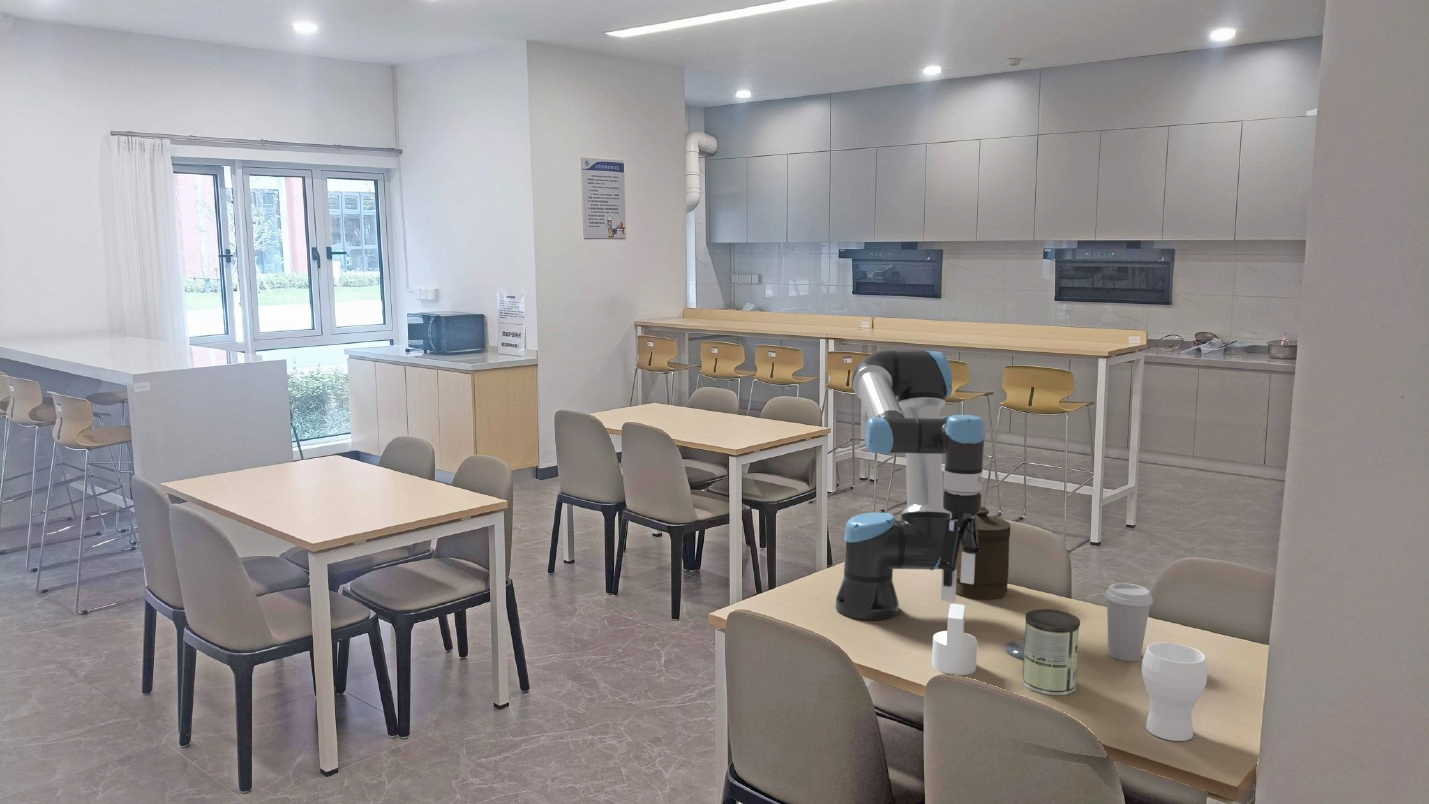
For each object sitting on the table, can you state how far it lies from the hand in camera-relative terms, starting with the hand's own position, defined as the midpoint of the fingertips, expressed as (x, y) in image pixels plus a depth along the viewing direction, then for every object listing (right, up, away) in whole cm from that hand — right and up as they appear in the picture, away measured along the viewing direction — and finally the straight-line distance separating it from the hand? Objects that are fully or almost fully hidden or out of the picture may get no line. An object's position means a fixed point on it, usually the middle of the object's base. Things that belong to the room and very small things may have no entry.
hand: (957, 591), depth 202 cm
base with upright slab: (0, -16, +3) cm, 17 cm away
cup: (+32, -21, -25) cm, 46 cm away
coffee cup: (+38, -16, +9) cm, 42 cm away
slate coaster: (+18, -15, +10) cm, 26 cm away
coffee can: (+17, -18, -6) cm, 25 cm away
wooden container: (+18, -10, +51) cm, 55 cm away
